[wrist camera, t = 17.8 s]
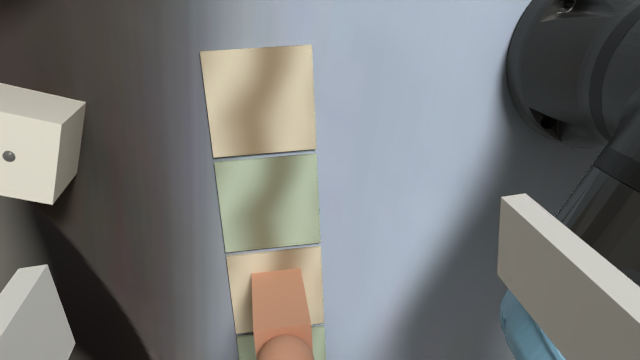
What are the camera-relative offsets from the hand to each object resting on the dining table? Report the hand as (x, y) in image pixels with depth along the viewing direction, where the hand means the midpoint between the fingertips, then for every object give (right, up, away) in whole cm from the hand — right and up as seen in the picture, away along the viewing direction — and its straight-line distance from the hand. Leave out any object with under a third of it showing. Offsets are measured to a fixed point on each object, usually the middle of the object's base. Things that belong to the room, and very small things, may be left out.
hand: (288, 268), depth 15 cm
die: (-21, +7, +25) cm, 33 cm away
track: (-3, -4, +32) cm, 32 cm away
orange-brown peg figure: (-3, -8, +33) cm, 34 cm away
